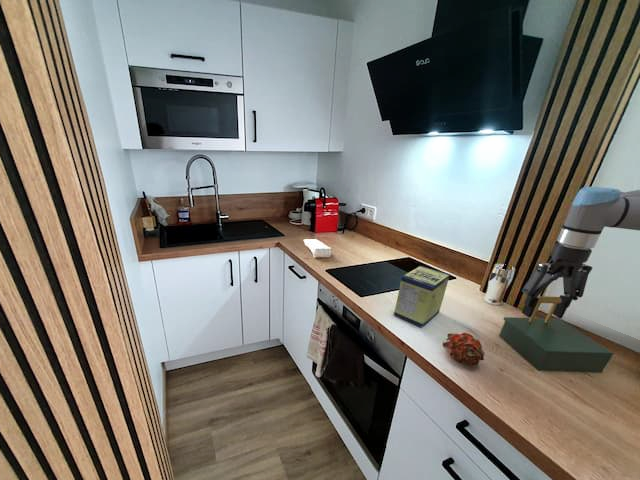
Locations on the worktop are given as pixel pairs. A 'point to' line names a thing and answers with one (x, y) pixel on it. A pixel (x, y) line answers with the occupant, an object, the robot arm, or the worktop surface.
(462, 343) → the dragon fruit
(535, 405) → the worktop surface
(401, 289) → the protein box
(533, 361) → the dark green box base
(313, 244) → the white rectangular block
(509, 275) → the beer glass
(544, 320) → the box lid with handle
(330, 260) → the worktop surface
